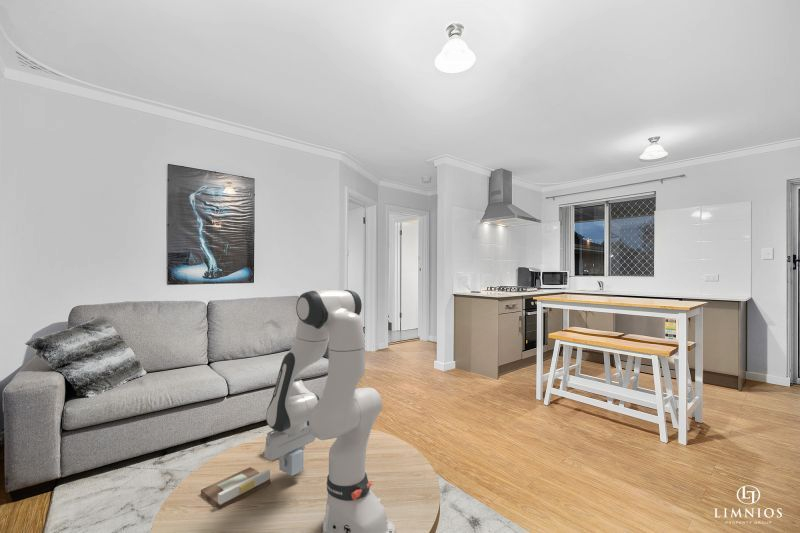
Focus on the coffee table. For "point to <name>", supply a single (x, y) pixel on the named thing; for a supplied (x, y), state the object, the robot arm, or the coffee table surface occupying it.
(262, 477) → the price rail
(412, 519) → the coffee table surface
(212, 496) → the shelf board
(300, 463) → the product carton
